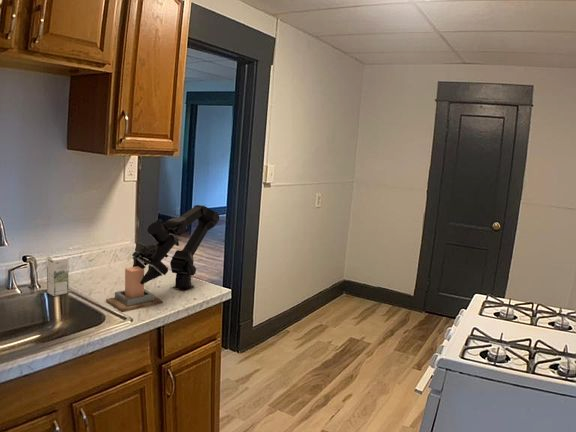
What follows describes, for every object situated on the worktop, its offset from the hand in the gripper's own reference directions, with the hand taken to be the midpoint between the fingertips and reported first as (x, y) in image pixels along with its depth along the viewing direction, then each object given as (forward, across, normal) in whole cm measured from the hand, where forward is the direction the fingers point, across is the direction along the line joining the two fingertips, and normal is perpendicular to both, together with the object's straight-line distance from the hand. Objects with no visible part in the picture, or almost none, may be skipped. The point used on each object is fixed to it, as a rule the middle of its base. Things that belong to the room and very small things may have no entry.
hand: (135, 280), depth 173 cm
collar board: (+6, 0, +6) cm, 8 cm away
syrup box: (+20, -25, -8) cm, 33 cm away
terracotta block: (+6, 0, +5) cm, 7 cm away
